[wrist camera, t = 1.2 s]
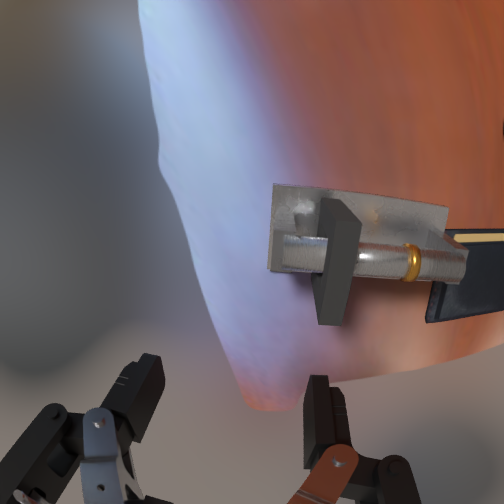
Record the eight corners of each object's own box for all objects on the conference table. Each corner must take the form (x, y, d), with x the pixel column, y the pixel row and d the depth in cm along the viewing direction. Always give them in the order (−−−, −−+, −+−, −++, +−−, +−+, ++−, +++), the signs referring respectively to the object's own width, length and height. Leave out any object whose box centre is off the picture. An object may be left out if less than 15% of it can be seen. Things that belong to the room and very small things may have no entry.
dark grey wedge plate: (340, 199, 28) (362, 223, 20) (328, 278, 32) (341, 325, 23) (321, 197, 28) (336, 220, 20) (310, 277, 32) (318, 324, 23)
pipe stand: (444, 205, 30) (488, 229, 21) (427, 277, 34) (460, 316, 25) (273, 183, 32) (269, 200, 23) (267, 265, 36) (261, 308, 26)
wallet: (425, 328, 35) (447, 227, 30) (420, 321, 37) (440, 222, 32) (511, 315, 33) (534, 231, 27) (506, 309, 35) (528, 227, 29)
